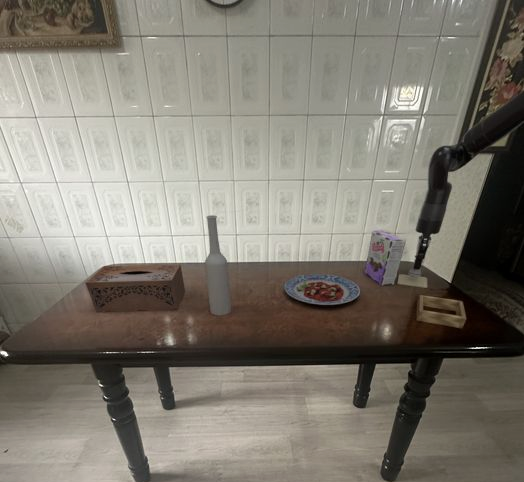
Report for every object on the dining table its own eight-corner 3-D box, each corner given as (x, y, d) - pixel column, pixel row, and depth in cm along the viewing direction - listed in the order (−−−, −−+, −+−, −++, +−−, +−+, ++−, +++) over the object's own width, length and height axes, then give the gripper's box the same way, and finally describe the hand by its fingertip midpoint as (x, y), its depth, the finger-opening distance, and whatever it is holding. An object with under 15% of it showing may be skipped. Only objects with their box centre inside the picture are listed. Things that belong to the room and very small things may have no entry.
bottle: (230, 305, 99) (223, 213, 83) (232, 314, 93) (224, 218, 77) (210, 306, 98) (198, 214, 82) (210, 316, 92) (198, 219, 76)
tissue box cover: (96, 312, 95) (85, 282, 90) (112, 293, 107) (104, 266, 102) (177, 309, 96) (171, 280, 90) (185, 291, 108) (180, 264, 102)
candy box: (363, 272, 121) (371, 230, 112) (377, 271, 122) (386, 229, 113) (380, 286, 110) (391, 240, 101) (395, 284, 111) (407, 239, 102)
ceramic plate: (370, 289, 107) (371, 281, 106) (339, 318, 91) (340, 309, 89) (307, 274, 120) (308, 267, 119) (270, 297, 103) (270, 288, 102)
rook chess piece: (418, 278, 110) (425, 256, 105) (406, 275, 112) (412, 254, 107) (422, 274, 113) (428, 253, 108) (409, 272, 115) (415, 251, 110)
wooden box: (458, 310, 94) (462, 301, 92) (462, 328, 85) (466, 318, 83) (417, 303, 98) (419, 294, 96) (416, 320, 89) (419, 310, 87)
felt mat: (426, 278, 116) (427, 277, 115) (426, 288, 108) (427, 287, 108) (399, 274, 119) (399, 273, 119) (397, 284, 112) (397, 283, 111)
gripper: (444, 222, 94) (427, 275, 104) (442, 214, 105) (427, 262, 114) (418, 220, 97) (404, 272, 106) (419, 212, 107) (406, 260, 117)
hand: (416, 267), depth 110 cm, fingers closed on rook chess piece, 3 cm apart
